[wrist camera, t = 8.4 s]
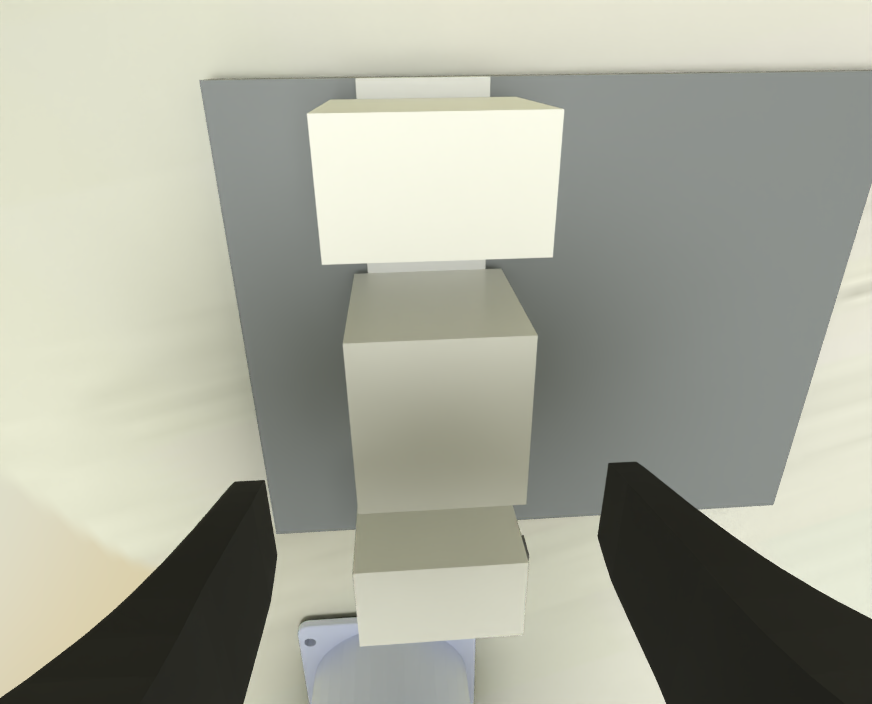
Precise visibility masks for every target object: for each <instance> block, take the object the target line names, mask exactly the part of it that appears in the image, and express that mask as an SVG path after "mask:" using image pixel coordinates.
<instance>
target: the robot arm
mask: <svg viewBox="0 0 872 704" xmlns="http://www.w3.org/2000/svg"><path fill="white" fill-rule="evenodd" d="M598 540H599V543H600V547H601V550H602V553H603V557H604V560H605V563H606V566H607V569H608V572H609V575H610V578H611V581H612V584H613V586H614V588H615V591H616V593H617V595H618V597H619V599H620V602H621V604H622V606H623V608H624V611H625V613H626V615H627V617H628V619H629V621H630V624H631V626H632V628H633V630H634V632H635V635H636V637H637V639H638V641H639V643H640V645H641V648H642V650H643V652H644V654H645V656H646V658H647V661H648V663H649V665H650V667H651V669H652V671H653V674H654V676H655V678H656V680H657V682H658V685H659V687H660V690H661V692H662V694H663V697H664V699H665V702H666V704H872V619H871V618H869V617H867V616H865V615H863V614H861V613H859V612H857V611H855V610H853V609H851V608H849V607H847V606H846V605H844V604H842V603H840V602H838V601H836V600H834V599H832V598H831V597H829V596H827V595H825V594H823V593H822V592H820V591H818V590H816V589H815V588H813V587H811V586H810V585H808V584H806V583H805V582H803V581H801V580H800V579H798V578H796V577H795V576H793V575H791V574H790V573H788V572H786V571H785V570H783V569H781V568H780V567H778V566H777V565H775V564H774V563H772V562H770V561H769V560H767V559H766V558H764V557H763V556H761V555H760V554H758V553H757V552H755V551H754V550H753V549H751V548H750V547H748V546H747V545H745V544H744V543H742V542H741V541H740V540H738V539H737V538H735V537H734V536H732V535H731V534H730V533H728V532H727V531H726V530H724V529H723V528H721V527H720V526H719V525H717V524H716V523H715V522H713V521H712V520H711V519H709V518H708V517H707V516H705V515H704V514H703V513H702V512H700V511H699V510H698V509H696V508H695V507H694V506H693V505H691V504H690V503H689V502H687V501H686V500H685V499H684V498H682V497H681V496H680V495H679V494H677V493H676V492H675V491H674V490H672V489H671V488H670V487H669V486H667V485H666V484H665V483H664V482H662V481H661V480H660V479H659V478H657V477H656V476H655V475H654V474H652V473H651V472H650V471H649V470H647V469H646V468H645V467H643V466H642V465H641V464H639V463H638V462H637V461H636V462H616V463H608V469H607V476H606V483H605V490H604V496H603V503H602V510H601V517H600V523H599V530H598ZM276 561H277V551H276V545H275V539H274V533H273V527H272V521H271V515H270V509H269V503H268V497H267V491H266V485H265V480H259V481H239V482H234V483H233V484H232V485H231V486H230V487H229V488H228V489H227V490H226V492H225V493H224V494H223V495H222V496H221V497H220V499H219V500H218V501H217V502H216V503H215V504H214V506H213V507H212V508H211V509H210V510H209V511H208V513H207V514H206V515H205V516H204V517H203V518H202V520H201V521H200V522H199V523H198V524H197V525H196V527H195V528H194V529H193V530H192V531H191V532H190V533H189V534H188V535H187V537H186V538H185V539H184V540H183V541H182V542H181V543H180V544H179V545H178V546H177V548H176V549H175V550H174V551H173V552H172V553H171V554H170V555H169V556H168V557H167V558H166V559H165V561H164V562H163V563H162V564H161V565H160V566H159V567H158V568H157V569H156V570H155V571H154V572H153V573H152V574H151V575H150V576H149V577H148V578H147V579H146V580H145V581H144V582H143V583H142V584H141V585H140V586H139V587H138V588H137V589H136V590H135V591H134V592H133V593H132V594H131V595H130V596H128V597H127V598H126V599H125V600H124V601H123V602H122V603H121V604H120V605H119V606H118V607H117V608H116V609H114V610H113V611H112V612H111V613H110V614H109V615H108V616H106V617H105V618H104V619H103V620H102V621H101V622H100V623H98V624H97V625H96V626H95V627H94V628H92V629H91V630H90V631H89V632H88V633H87V634H85V635H84V636H83V637H82V638H80V639H79V640H78V641H77V642H75V643H74V644H73V645H71V646H70V647H69V648H67V649H66V650H65V651H63V652H62V653H61V654H60V655H58V656H57V657H56V658H54V659H53V660H52V661H50V662H49V663H48V664H46V665H45V666H44V667H43V668H41V669H40V670H39V671H37V672H36V673H35V674H33V675H32V676H31V677H29V678H28V679H27V680H25V681H24V682H23V683H21V684H20V685H18V686H17V687H16V688H14V689H12V690H11V691H10V692H8V693H7V694H5V695H4V696H2V697H1V698H0V704H243V703H244V699H245V696H246V692H247V688H248V685H249V681H250V677H251V674H252V670H253V666H254V663H255V659H256V655H257V652H258V648H259V644H260V640H261V637H262V633H263V629H264V625H265V622H266V618H267V614H268V610H269V606H270V602H271V596H272V589H273V583H274V576H275V568H276ZM298 638H299V644H300V650H301V656H302V662H303V668H304V675H305V681H306V687H307V693H308V699H309V704H474V679H475V642H476V638H475V639H461V640H447V641H432V642H418V643H404V644H390V645H376V646H361V647H360V642H359V632H358V622H357V617H351V618H336V619H321V620H308V621H304V622H303V623H301V624H300V626H299V630H298Z"/></svg>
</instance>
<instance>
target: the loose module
mask: <svg viewBox="0 0 872 704" xmlns="http://www.w3.org/2000/svg"><path fill="white" fill-rule="evenodd" d="M537 340H538V335H537V333H536V331H535V329H534V328H533V326H532V324H531V322H530V320H529V318H528V317H527V315H526V313H525V311H524V309H523V307H522V306H521V304H520V302H519V300H518V298H517V297H516V295H515V293H514V291H513V289H512V287H511V286H510V284H509V282H508V280H507V278H506V276H505V275H504V273H503V271H502V269H475V270H447V271H418V272H390V273H362V274H354V279H353V285H352V291H351V297H350V303H349V309H348V315H347V321H346V327H345V333H344V339H343V353H344V363H345V374H346V385H347V396H348V407H349V418H350V429H351V440H352V451H353V462H354V473H355V483H356V494H357V505H358V514H374V513H390V512H407V511H424V510H441V509H458V508H475V507H492V506H509V505H526V501H527V486H528V472H529V457H530V442H531V428H532V413H533V398H534V384H535V369H536V355H537Z"/></svg>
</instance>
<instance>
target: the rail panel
mask: <svg viewBox="0 0 872 704" xmlns="http://www.w3.org/2000/svg"><path fill="white" fill-rule="evenodd" d="M199 81H200V87H201V92H202V98H203V104H204V110H205V116H206V122H207V128H208V134H209V139H210V145H211V151H212V157H213V163H214V169H215V175H216V181H217V187H218V192H219V198H220V204H221V210H222V216H223V222H224V228H225V234H226V240H227V245H228V251H229V257H230V263H231V269H232V275H233V281H234V287H235V292H236V298H237V304H238V310H239V316H240V322H241V328H242V334H243V340H244V345H245V351H246V357H247V363H248V369H249V375H250V381H251V387H252V393H253V398H254V404H255V410H256V416H257V422H258V428H259V434H260V440H261V445H262V451H263V457H264V463H265V469H266V475H267V481H268V487H269V493H270V498H271V504H272V510H273V516H274V522H275V528H276V534H285V533H303V532H320V531H337V530H354V529H356V535H355V548H354V562H353V582H354V592H355V602H356V612H357V622H358V632H359V642H360V647H361V646H376V645H390V644H404V643H418V642H432V641H447V640H461V639H475V638H489V637H504V636H518V635H523V631H524V619H525V606H526V593H527V580H528V567H529V562H528V561H529V553H528V550H527V546H526V542H525V539H524V535H522V536H521V533H520V529H519V526H518V522H517V520H525V519H542V518H559V517H576V516H593V515H601V510H602V503H603V496H604V490H605V483H606V476H607V469H608V463H616V462H636V461H637V462H638V463H639V464H641V465H642V466H643V467H645V468H646V469H647V470H649V471H650V472H651V473H652V474H654V475H655V476H656V477H657V478H659V479H660V480H661V481H662V482H664V483H665V484H666V485H667V486H669V487H670V488H671V489H672V490H674V491H675V492H676V493H677V494H679V495H680V496H681V497H682V498H684V499H685V500H686V501H687V502H689V503H690V504H691V505H693V506H694V507H695V508H696V509H712V508H730V507H747V506H764V505H773V504H774V501H775V498H776V494H777V491H778V488H779V485H780V481H781V478H782V475H783V471H784V468H785V465H786V462H787V458H788V455H789V452H790V449H791V445H792V442H793V439H794V435H795V432H796V429H797V426H798V422H799V419H800V416H801V413H802V409H803V406H804V403H805V399H806V396H807V393H808V390H809V386H810V383H811V380H812V377H813V373H814V370H815V367H816V363H817V360H818V357H819V354H820V350H821V347H822V344H823V341H824V337H825V334H826V331H827V327H828V324H829V321H830V318H831V314H832V311H833V308H834V305H835V301H836V298H837V295H838V292H839V288H840V285H841V282H842V278H843V275H844V272H845V269H846V265H847V262H848V259H849V256H850V252H851V249H852V246H853V242H854V239H855V236H856V233H857V229H858V226H859V223H860V220H861V216H862V213H863V210H864V206H865V203H866V200H867V197H868V193H869V190H870V187H871V184H872V70H852V71H778V72H704V73H631V74H557V75H483V76H409V77H335V78H261V79H208V80H199ZM475 269H502V271H503V273H504V275H505V276H506V278H507V280H508V282H509V284H510V286H511V287H512V289H513V291H514V293H515V295H516V297H517V298H518V300H519V302H520V304H521V306H522V307H523V309H524V311H525V313H526V315H527V317H528V318H529V320H530V322H531V324H532V326H533V328H534V329H535V331H536V333H537V335H538V340H537V355H536V369H535V384H534V398H533V413H532V428H531V442H530V457H529V472H528V486H527V501H526V505H509V506H492V507H475V508H458V509H441V510H424V511H407V512H390V513H374V514H358V505H357V494H356V483H355V473H354V462H353V451H352V440H351V429H350V418H349V407H348V396H347V385H346V374H345V363H344V353H343V339H344V333H345V327H346V321H347V315H348V309H349V303H350V297H351V291H352V285H353V279H354V274H362V273H390V272H418V271H447V270H475Z"/></svg>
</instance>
